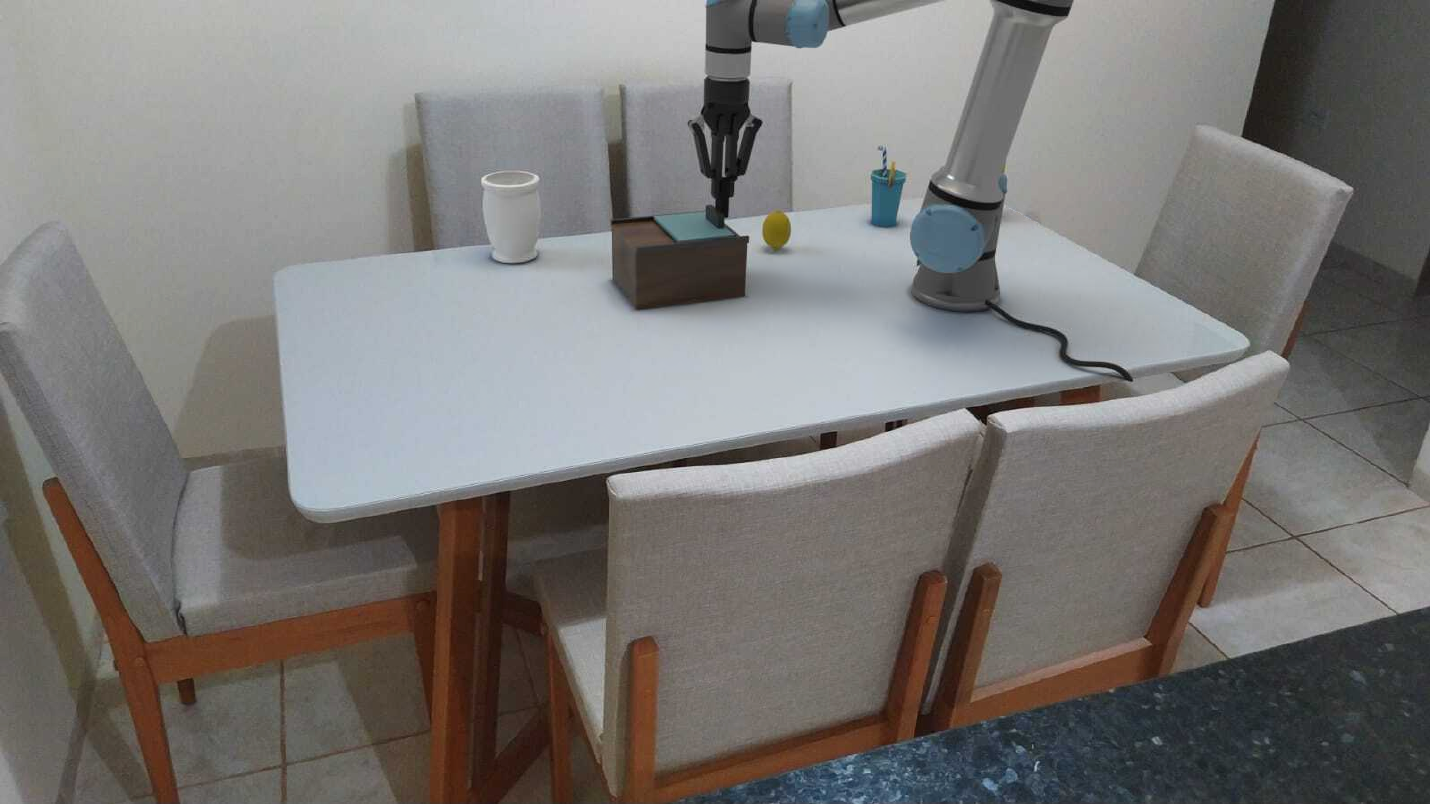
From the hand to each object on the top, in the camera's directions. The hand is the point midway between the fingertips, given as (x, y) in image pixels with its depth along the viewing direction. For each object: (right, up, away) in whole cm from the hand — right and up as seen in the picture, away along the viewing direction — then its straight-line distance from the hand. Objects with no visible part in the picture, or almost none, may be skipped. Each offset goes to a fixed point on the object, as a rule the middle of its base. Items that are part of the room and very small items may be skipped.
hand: (721, 215), depth 183 cm
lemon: (+11, -3, +22) cm, 25 cm away
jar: (-39, -5, +15) cm, 42 cm away
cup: (+34, +5, +39) cm, 53 cm away
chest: (-8, -12, +3) cm, 15 cm away
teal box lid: (-5, -2, -1) cm, 6 cm away
